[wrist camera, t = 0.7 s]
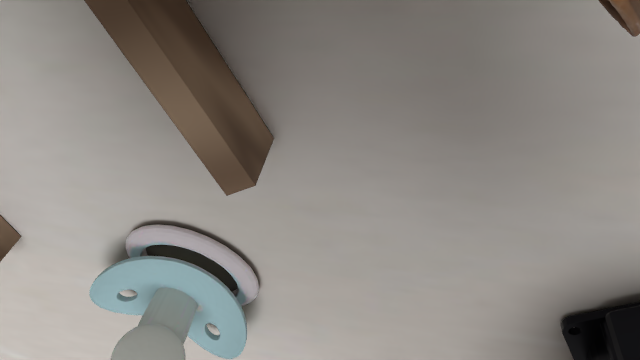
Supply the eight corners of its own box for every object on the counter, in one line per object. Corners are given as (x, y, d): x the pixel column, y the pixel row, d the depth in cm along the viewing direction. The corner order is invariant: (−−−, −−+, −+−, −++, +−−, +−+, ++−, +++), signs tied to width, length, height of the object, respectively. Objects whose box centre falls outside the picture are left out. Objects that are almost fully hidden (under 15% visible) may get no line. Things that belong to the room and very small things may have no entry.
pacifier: (135, 193, 26) (103, 277, 29) (66, 298, 21) (36, 385, 24) (287, 262, 27) (238, 336, 30) (256, 378, 22) (202, 451, 25)
